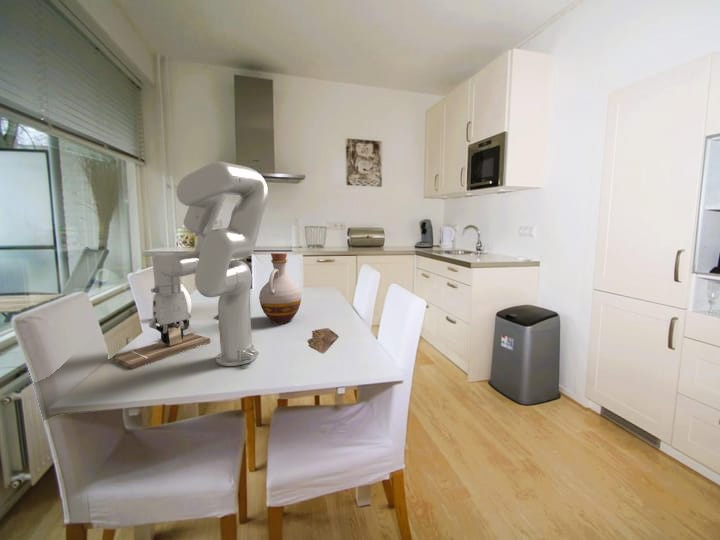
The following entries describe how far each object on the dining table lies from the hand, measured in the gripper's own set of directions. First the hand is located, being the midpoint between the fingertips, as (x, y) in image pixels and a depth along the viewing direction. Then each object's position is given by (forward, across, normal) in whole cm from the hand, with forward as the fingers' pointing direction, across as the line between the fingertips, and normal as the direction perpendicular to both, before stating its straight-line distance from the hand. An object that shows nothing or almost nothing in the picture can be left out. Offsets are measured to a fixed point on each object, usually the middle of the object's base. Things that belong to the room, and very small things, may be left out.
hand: (172, 340), depth 118 cm
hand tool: (+3, +10, +15) cm, 19 cm away
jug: (+3, +42, -8) cm, 43 cm away
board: (+3, -3, 0) cm, 4 cm away
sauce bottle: (+3, +22, +32) cm, 39 cm away
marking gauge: (+1, 0, 0) cm, 1 cm away
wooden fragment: (+3, +35, -39) cm, 52 cm away
